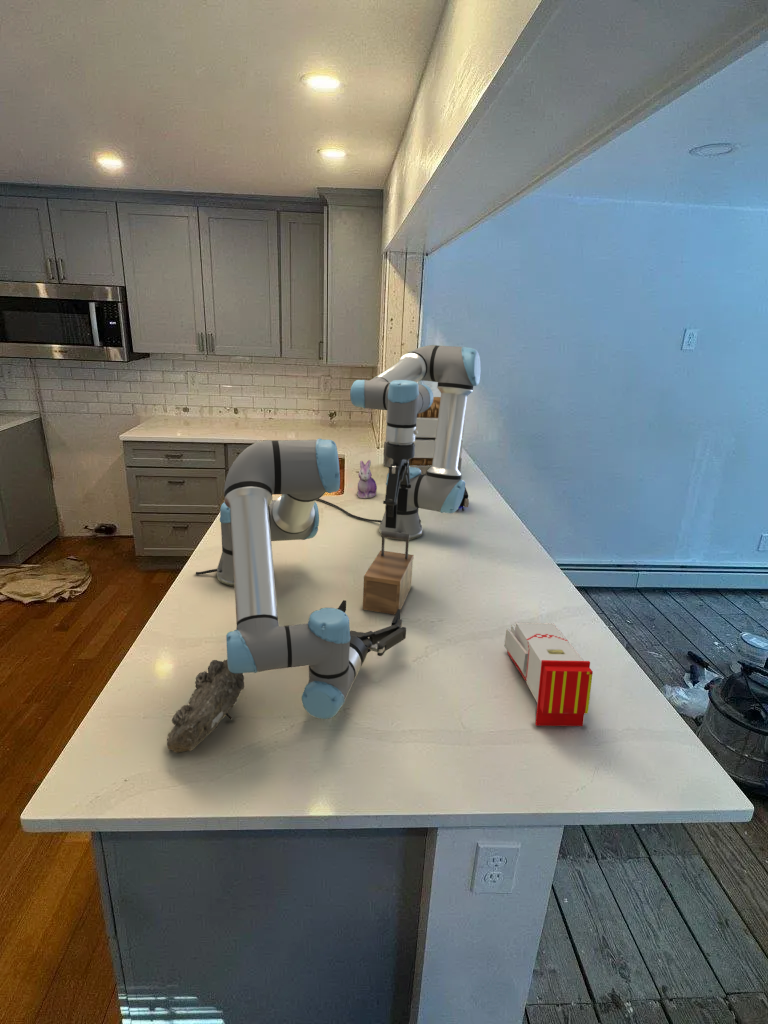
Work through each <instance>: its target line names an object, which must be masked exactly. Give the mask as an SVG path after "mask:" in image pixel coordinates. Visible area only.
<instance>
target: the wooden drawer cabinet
mask: <svg viewBox="0 0 768 1024" xmlns="http://www.w3.org/2000/svg"><path fill="white" fill-rule="evenodd" d="M433 398H434V399H433V403H432V405H431V406H430V407H429V408H428V409H427V410H426V411H425V412H422V413H419V414H417V421H416V429H415V431H416V430H417V431H418V434H415V441H414V442H413V443H414V444H415V454H414V457H413V458H412V459H409V467H417V466H418V467H431V466H432V462H433V454H434V446H435V438H436V431H437V423H438V415H439V407H440V399H441V396H433ZM385 414H386V415H385V423H386V424H387V415H388V410H386V413H385ZM464 422H465V419H464ZM464 429H465V423H464V424H463V432H462V439H463V438H464V431H465V430H464ZM386 432H387V425H386V428H385V433H386ZM462 439H461V447H460V454H459V461H458V470H459V472H460V473H461V472H462V461H463V460H462V453H463V442H464V441H463V440H462ZM387 442H388V441H387V440H386V437H385V438H384V442H383V466H384V467H388V468H389V466H390V465H391V464H393V459H392V458H388V457H387V456H386V443H387ZM461 474H462V473H461Z"/></svg>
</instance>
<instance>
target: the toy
mask: <svg viewBox="0 0 768 1024" xmlns="http://www.w3.org/2000/svg"><path fill="white" fill-rule="evenodd" d="M503 645H504V647H505V649H506V650H507V655H508V656H509V658H510V659H511V662H513V664H514V666H515V667H516V669H517V670H518V672H519V673H520V675H521V676H522V679H523V680H524V681H525V683H526V686H527V687H528V689H529V690H530V693H531V694H532V696H533V698H534V700H535V701H536V703H537V704H536V714H535V722H534V723H535V726H537V727H541V726H542V727H583V726H584V719H585V715H586V714H587V715H588V714H589V706H590V705H589V704H590V699H591V691H592V683H593V682H592V681H593V674H594V673H593V672H594V671H593V670H592V669H591V668H590V667H591V661H590V660H584V659H583V658H582V657H581V655H580V654H579V653H578V651H577V650H576V649H575V648H574V647H573V645H572V644H571V643H570V642H569V640H568V639H567V638H566V636H564V633H562V632H561V630H560V629H559V628H558V627H557V625H556V624H555V623H553V622H515V624H511V625H510V628H506V630H505V638H504V644H503Z"/></svg>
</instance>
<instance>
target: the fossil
mask: <svg viewBox="0 0 768 1024" xmlns="http://www.w3.org/2000/svg"><path fill="white" fill-rule="evenodd" d="M194 684H195V685H194V687H195V689H194V690H193V693H192V694H191V697H190V698H189V700H188V704H184V705H182V706H181V707H180V709H177V710H176V711H175V713H174V715H173V716H172V718H171V723H172V724H173V727H172V730H171V731H170V732H168V734H167V738H166V741H167V742H166V745H167V749H168V750H169V751H173V752H174V753H176V754H178V753H182V752H188V751H189V752H192V751H193V750H195V748H196V747H197V746H199V744H200V743H201V742H203V741H204V740H205V739H206V738H207V737H208V736H209V735H210V734H211V733H212V732H214V730H215V729H217V727H218V726H219V724H220V722H221V721H222V720H223V719H224V718H225V716H226V717H227V719H229V720H233V717H232V715H230V714H229V710H230V709H231V708H234V706H235V704H236V703H237V702H238V699H239V697H240V695H241V693H242V691H243V690H245V689H244V688H245V675H244V673H232V672H230V671H229V669H228V662H227V659H224V660H223V661H222V660H217V659H212V660H211V661H210V663H209V665H208V666H207V671H201V672H199V673H198V674H197V675H196V676H195V680H194Z"/></svg>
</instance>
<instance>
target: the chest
mask: <svg viewBox="0 0 768 1024" xmlns="http://www.w3.org/2000/svg"><path fill="white" fill-rule="evenodd" d="M413 560H414V559H413ZM413 560H412V562H411V564H410V566H409V568H408V570H407V572H406V574H405V576H404V578H403V580H402V583H401V585H394V584H387V583H381V582H374V581H368V580H364V579H363V589H362V590H363V592H362V593H363V594H362V610H364V611H371V612H375V613H383V614H387V615H394V616H395V614H396V612H397V610H398V609H401V610H402V608H403V606H404V604H405V601H406V599H407V597H408V595H409V593H410V591H411V588H412V580H413V578H412V577H413V566H414V565H413V563H414V561H413Z"/></svg>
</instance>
